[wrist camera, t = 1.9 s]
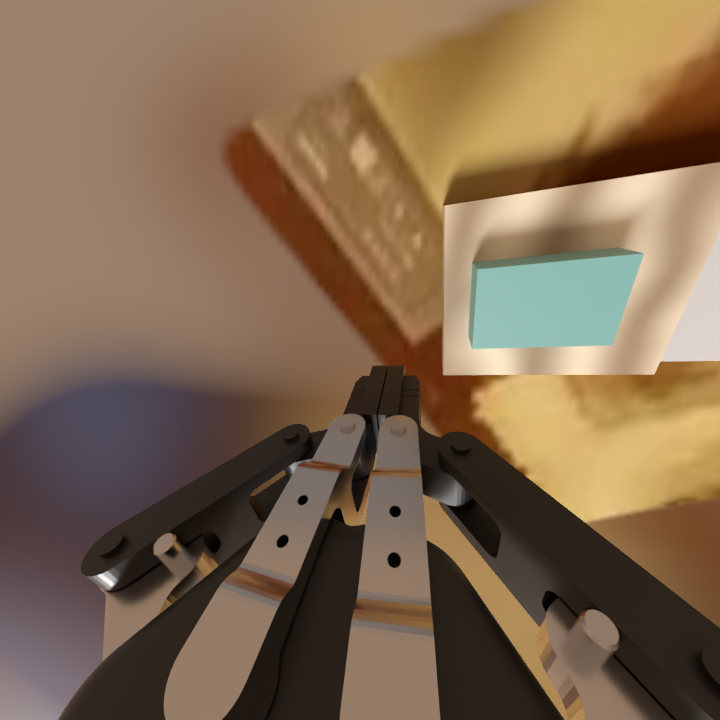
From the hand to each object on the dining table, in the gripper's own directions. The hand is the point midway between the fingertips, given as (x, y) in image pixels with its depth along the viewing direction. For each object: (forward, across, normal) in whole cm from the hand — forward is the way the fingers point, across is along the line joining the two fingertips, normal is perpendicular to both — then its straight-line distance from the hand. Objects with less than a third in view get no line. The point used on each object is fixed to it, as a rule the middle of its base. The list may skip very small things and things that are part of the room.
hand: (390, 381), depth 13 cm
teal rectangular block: (+12, -10, 0) cm, 15 cm away
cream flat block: (+14, -11, 0) cm, 18 cm away
